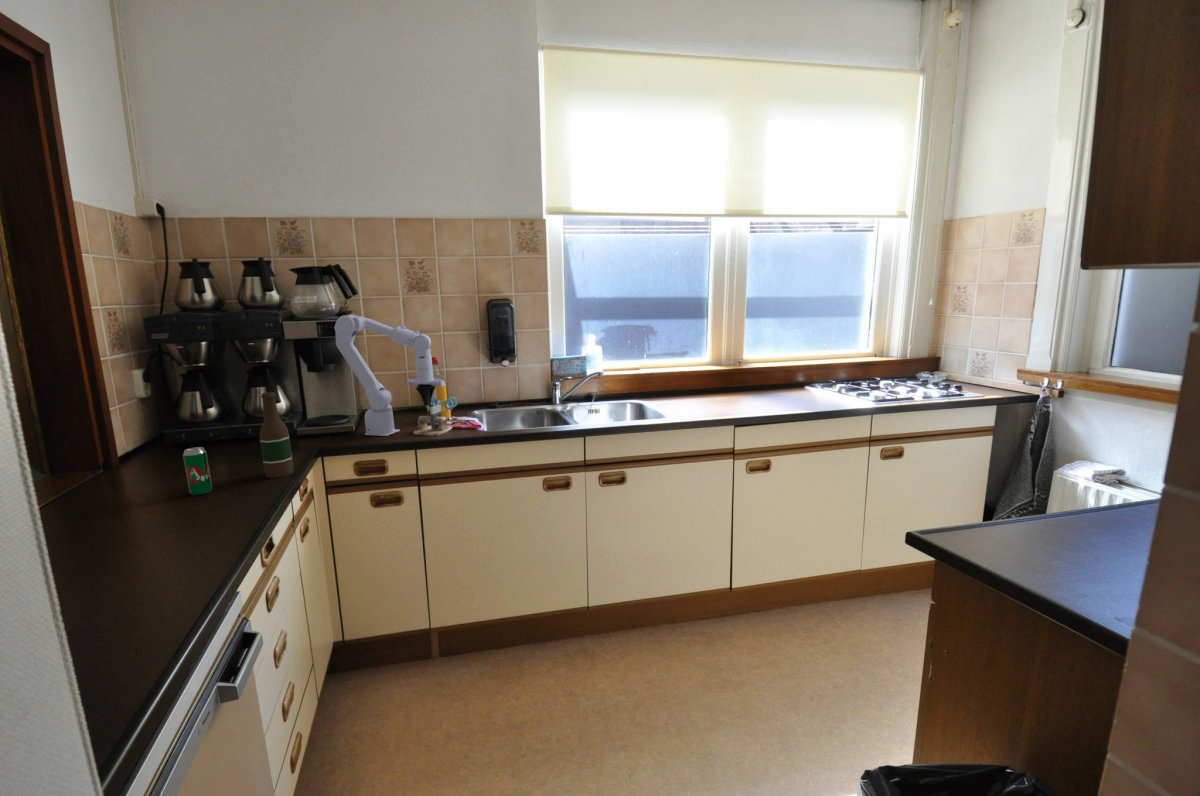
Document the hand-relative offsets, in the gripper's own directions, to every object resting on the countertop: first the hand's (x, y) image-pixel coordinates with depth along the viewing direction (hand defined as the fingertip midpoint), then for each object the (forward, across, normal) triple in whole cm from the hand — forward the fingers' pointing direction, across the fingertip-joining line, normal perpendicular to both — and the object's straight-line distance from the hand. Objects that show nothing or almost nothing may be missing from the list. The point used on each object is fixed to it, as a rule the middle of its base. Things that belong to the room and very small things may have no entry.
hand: (427, 405), depth 213 cm
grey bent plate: (+8, -4, +2) cm, 9 cm away
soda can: (+10, +22, +71) cm, 75 cm away
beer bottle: (+10, +14, +54) cm, 56 cm away
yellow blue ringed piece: (+10, +4, -16) cm, 19 cm away
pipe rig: (+10, -3, +2) cm, 10 cm away
